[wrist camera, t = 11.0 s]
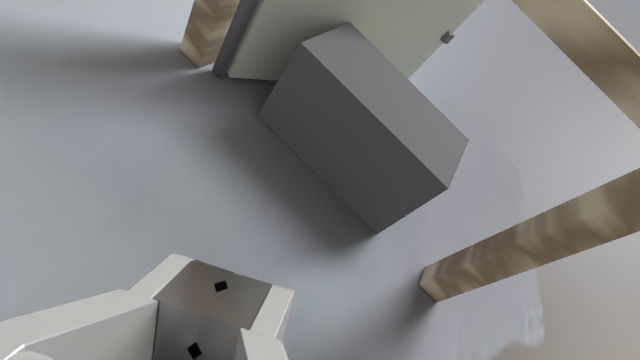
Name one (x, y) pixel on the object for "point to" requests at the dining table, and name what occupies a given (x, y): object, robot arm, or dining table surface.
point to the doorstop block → (363, 127)
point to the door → (327, 14)
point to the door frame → (548, 227)
